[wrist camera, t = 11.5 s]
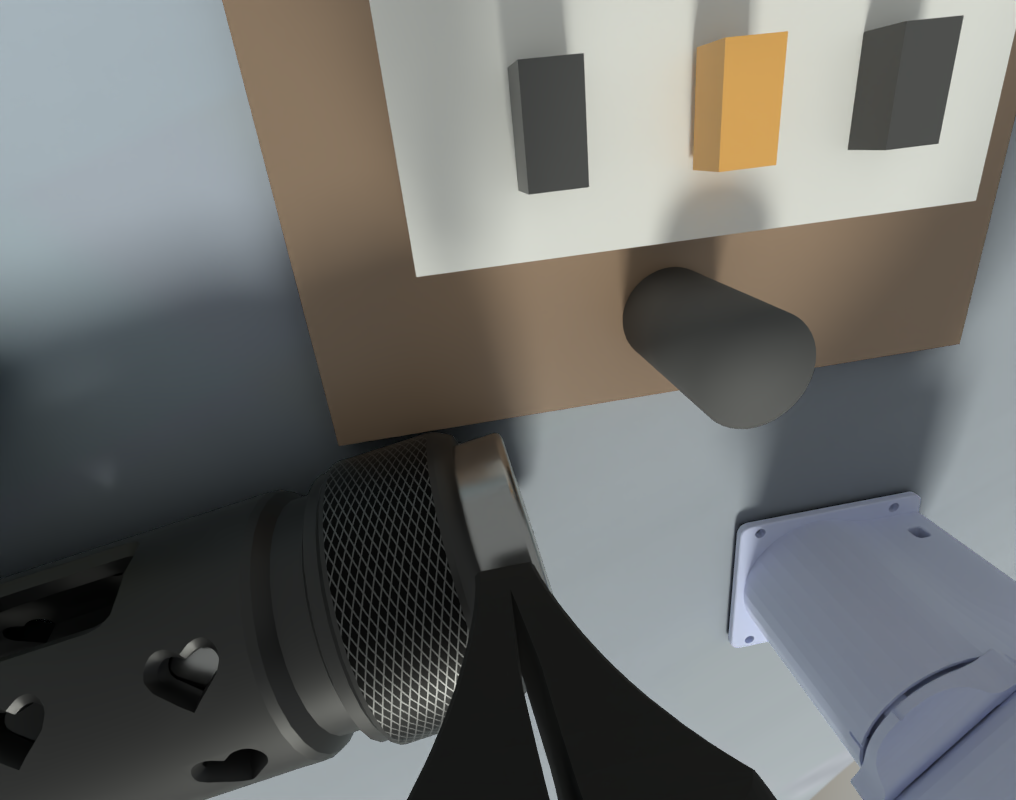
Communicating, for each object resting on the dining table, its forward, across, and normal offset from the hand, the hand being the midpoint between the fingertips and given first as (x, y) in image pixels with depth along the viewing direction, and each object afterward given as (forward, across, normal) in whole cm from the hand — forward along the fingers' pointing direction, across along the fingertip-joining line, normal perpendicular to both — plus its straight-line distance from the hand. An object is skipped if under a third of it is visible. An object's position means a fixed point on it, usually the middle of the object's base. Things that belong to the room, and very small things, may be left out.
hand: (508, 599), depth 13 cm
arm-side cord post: (+9, -8, -3) cm, 13 cm away
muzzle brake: (+7, +11, +11) cm, 17 cm away
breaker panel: (+10, -8, -10) cm, 16 cm away
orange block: (+6, -8, -10) cm, 14 cm away
